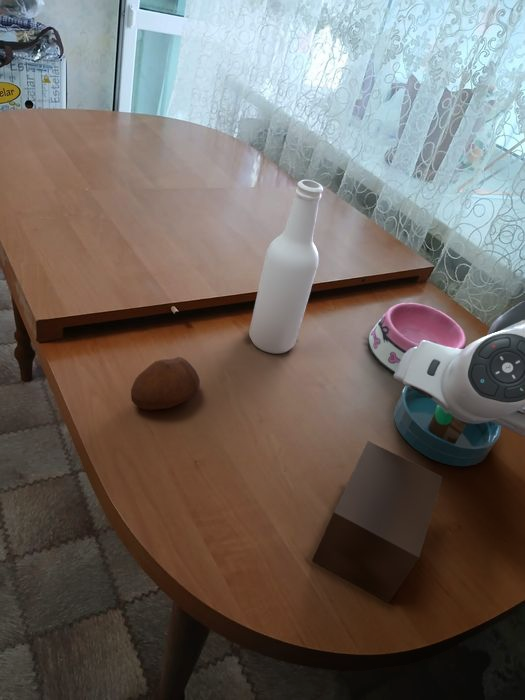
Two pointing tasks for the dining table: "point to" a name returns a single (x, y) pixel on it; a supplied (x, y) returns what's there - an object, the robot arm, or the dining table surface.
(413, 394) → the teal bowl
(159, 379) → the potato
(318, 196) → the alcohol
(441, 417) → the food container
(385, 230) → the dining table surface
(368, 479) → the stand
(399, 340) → the dog bowl
